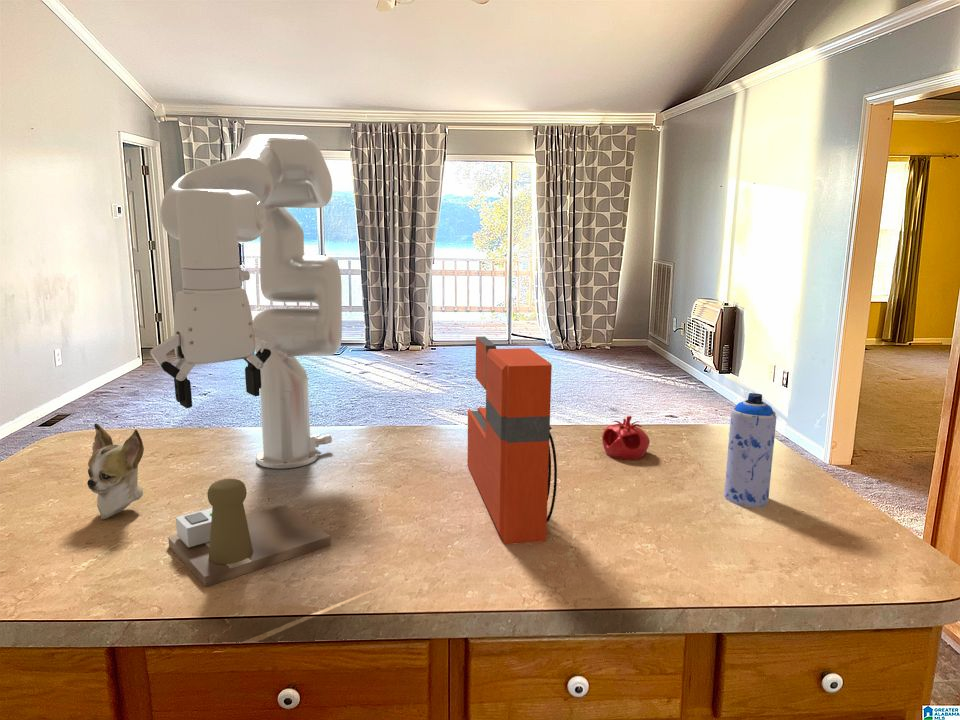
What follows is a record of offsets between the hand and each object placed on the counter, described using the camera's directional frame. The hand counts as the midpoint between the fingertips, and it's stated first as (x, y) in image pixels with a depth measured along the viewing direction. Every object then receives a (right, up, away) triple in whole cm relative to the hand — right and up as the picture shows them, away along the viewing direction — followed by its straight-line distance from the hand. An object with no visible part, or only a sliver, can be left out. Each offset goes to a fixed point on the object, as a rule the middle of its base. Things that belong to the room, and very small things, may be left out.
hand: (220, 400), depth 96 cm
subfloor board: (+2, -23, +6) cm, 24 cm away
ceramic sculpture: (-24, -21, +17) cm, 36 cm away
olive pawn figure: (+1, -22, 0) cm, 22 cm away
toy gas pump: (+42, -20, +25) cm, 53 cm away
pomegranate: (+69, -15, +49) cm, 86 cm away
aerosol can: (+86, -20, +25) cm, 92 cm away
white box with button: (-5, -21, +5) cm, 22 cm away
